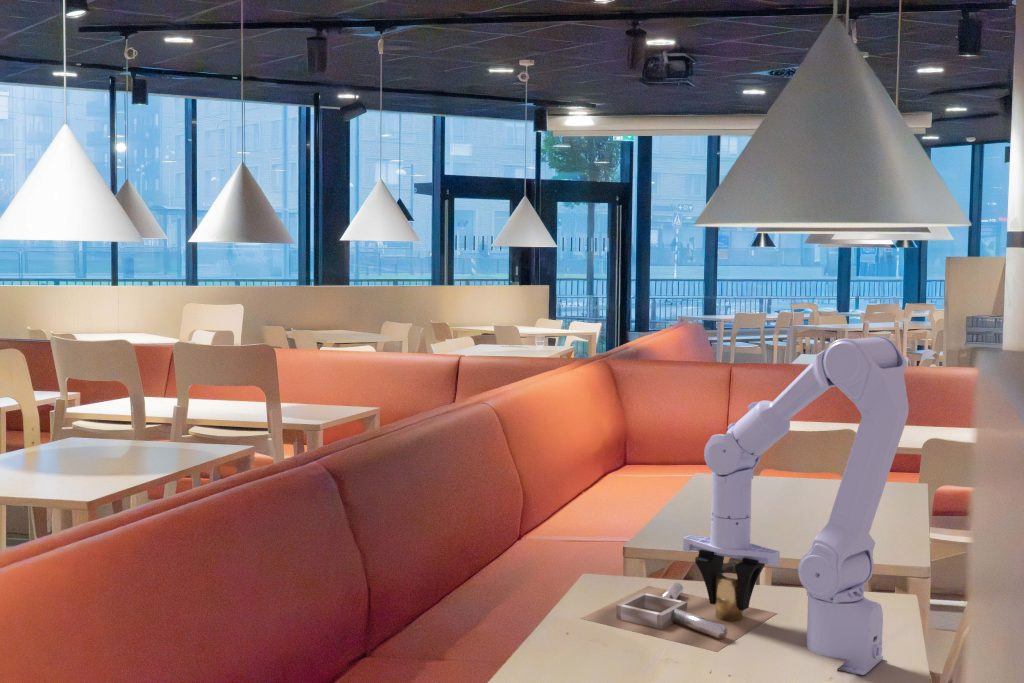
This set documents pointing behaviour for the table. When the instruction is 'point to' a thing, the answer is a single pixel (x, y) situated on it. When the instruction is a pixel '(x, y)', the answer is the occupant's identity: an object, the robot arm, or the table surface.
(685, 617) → the shaft
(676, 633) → the plate
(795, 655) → the table surface
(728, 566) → the hand tool
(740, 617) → the brass cylinder
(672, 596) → the shaft
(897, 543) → the table surface
